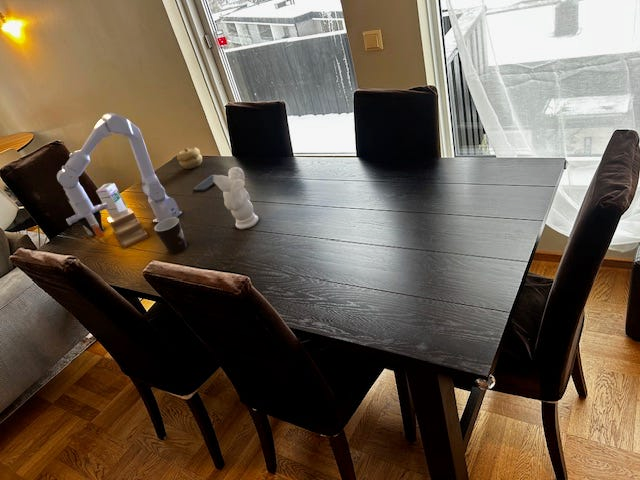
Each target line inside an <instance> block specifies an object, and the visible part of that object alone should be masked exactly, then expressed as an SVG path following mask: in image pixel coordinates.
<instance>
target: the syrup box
mask: <svg viewBox="0 0 640 480" xmlns="http://www.w3.org/2000/svg"><path fill="white" fill-rule="evenodd" d="M95 192H96V194H97V196H98V198H99V199H100V202H101V204H103V203H105V202H106V204H107V205H108V207H109V208H108V209H105V210H106V211H107V213H108V215H109V217H110V216H113V215H115V214H117V213H119V212H122V211H124V210H126V209H129V208H128V206H127V204H126V203H125V200H124V199H123V197H122V194H121V193H120V191H119V189H118V187H117V185H116V184H115V182H109V183H105V184H103V185H102V186H101V187H99V188H98V189H97V190H96V191H95Z"/></svg>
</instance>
